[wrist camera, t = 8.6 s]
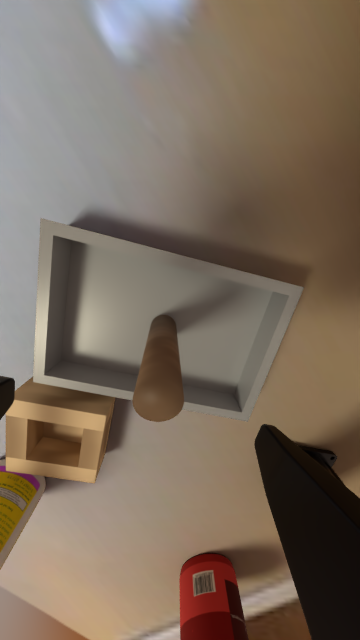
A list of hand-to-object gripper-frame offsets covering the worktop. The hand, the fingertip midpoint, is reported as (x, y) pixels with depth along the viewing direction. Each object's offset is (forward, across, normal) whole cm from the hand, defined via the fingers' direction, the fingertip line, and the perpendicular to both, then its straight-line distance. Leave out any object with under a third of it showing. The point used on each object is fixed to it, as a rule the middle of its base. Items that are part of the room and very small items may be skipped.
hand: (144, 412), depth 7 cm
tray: (+11, 0, 0) cm, 11 cm away
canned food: (+11, -14, +35) cm, 39 cm away
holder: (+11, +7, +12) cm, 18 cm away
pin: (+10, 0, 0) cm, 10 cm away
